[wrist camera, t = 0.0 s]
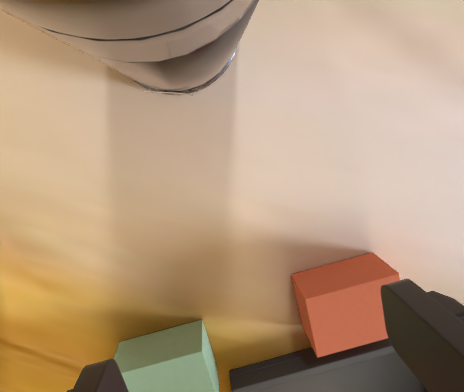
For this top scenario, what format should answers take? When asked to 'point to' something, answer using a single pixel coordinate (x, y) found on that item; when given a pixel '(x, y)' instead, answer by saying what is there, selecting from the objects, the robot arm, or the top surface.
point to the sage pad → (169, 361)
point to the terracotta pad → (343, 303)
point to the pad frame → (330, 372)
